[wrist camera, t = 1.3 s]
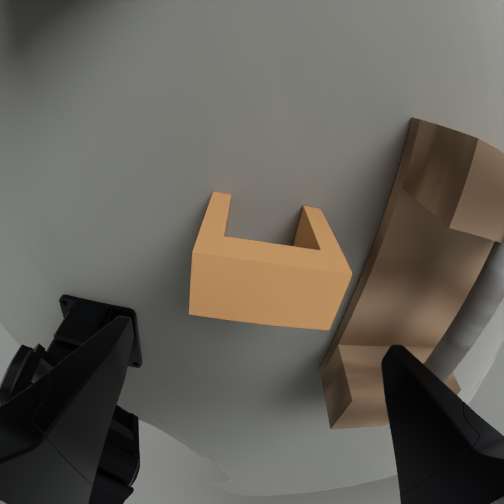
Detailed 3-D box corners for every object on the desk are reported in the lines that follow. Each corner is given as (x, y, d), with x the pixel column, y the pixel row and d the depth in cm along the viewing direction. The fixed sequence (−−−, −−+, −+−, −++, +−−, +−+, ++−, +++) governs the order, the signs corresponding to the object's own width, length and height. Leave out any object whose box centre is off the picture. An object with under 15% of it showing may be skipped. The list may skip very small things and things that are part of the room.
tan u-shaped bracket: (320, 208, 17) (352, 273, 11) (307, 253, 18) (329, 330, 13) (213, 191, 16) (192, 252, 11) (207, 239, 18) (188, 314, 12)
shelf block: (414, 367, 25) (437, 426, 19) (319, 367, 24) (332, 440, 18) (514, 167, 15) (581, 207, 9) (411, 117, 14) (493, 144, 8)
